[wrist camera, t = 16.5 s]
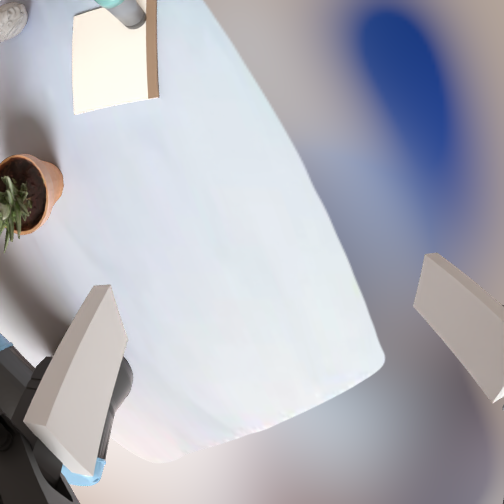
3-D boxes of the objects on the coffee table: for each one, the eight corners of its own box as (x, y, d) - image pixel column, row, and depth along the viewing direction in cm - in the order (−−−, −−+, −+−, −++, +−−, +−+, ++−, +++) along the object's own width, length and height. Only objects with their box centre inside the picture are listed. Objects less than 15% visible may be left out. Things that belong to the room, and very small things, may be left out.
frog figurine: (16, 54, 24) (-13, 49, 18) (-1, 32, 22) (-28, 25, 15) (45, 21, 23) (18, 9, 17) (26, 0, 20) (1, -12, 14)
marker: (123, 32, 26) (92, 7, 17) (123, 12, 25) (94, -17, 16) (147, 27, 26) (122, -2, 17) (147, 7, 25) (124, -26, 16)
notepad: (76, 114, 30) (74, 114, 29) (75, 17, 24) (73, 16, 24) (159, 97, 31) (158, 97, 30) (157, -4, 25) (156, -5, 24)
